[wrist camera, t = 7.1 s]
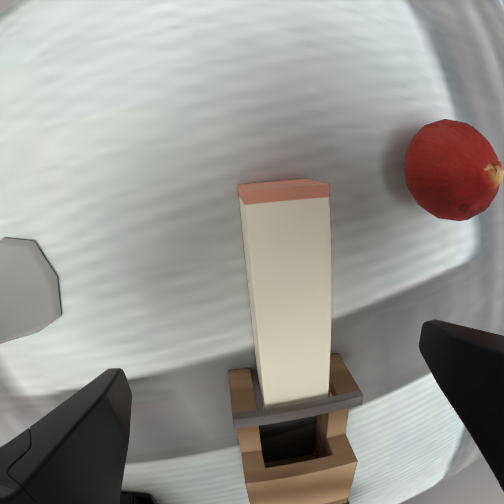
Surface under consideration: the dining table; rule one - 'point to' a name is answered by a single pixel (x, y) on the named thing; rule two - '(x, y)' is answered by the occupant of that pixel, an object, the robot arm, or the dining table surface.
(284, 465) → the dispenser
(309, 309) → the pink-topped cream pillar
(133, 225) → the dining table surface
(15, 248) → the flask
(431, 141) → the onion
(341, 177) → the dining table surface
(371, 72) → the dining table surface
